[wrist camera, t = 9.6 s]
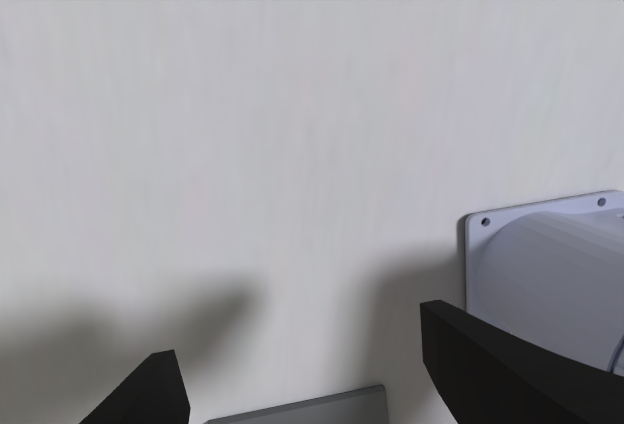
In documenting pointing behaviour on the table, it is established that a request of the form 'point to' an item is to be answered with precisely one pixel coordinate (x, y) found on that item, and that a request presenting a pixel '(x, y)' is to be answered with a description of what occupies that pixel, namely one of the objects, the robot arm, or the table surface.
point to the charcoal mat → (322, 410)
